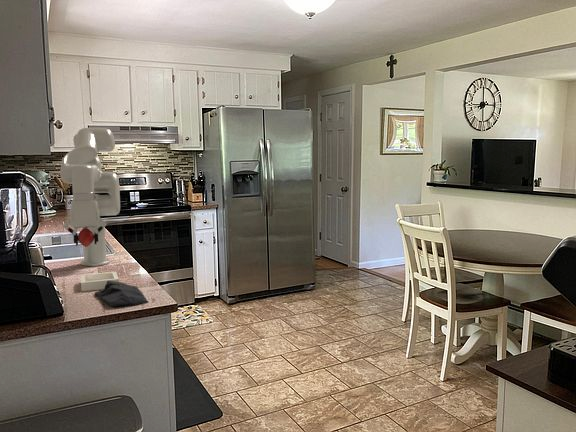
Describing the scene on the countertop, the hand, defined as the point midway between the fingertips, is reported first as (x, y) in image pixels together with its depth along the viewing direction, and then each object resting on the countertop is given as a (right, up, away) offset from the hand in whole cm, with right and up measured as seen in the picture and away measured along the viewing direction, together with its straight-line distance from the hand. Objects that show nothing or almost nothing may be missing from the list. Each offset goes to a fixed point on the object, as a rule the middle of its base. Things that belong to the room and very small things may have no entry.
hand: (86, 243), depth 178 cm
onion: (0, -1, 0) cm, 1 cm away
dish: (+5, -16, +1) cm, 17 cm away
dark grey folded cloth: (+19, -19, -16) cm, 31 cm away
